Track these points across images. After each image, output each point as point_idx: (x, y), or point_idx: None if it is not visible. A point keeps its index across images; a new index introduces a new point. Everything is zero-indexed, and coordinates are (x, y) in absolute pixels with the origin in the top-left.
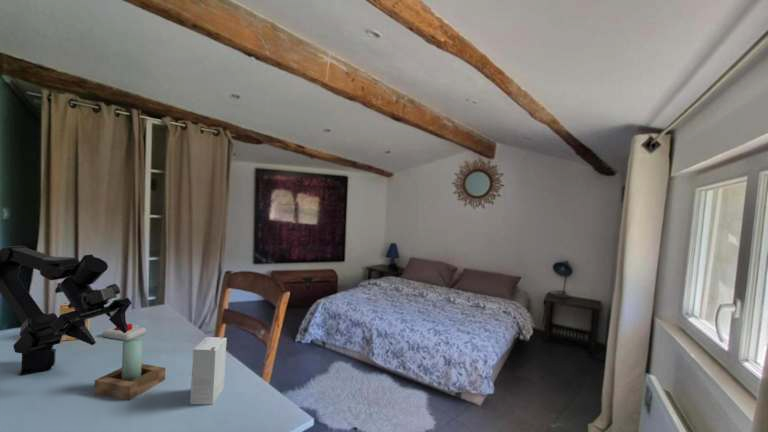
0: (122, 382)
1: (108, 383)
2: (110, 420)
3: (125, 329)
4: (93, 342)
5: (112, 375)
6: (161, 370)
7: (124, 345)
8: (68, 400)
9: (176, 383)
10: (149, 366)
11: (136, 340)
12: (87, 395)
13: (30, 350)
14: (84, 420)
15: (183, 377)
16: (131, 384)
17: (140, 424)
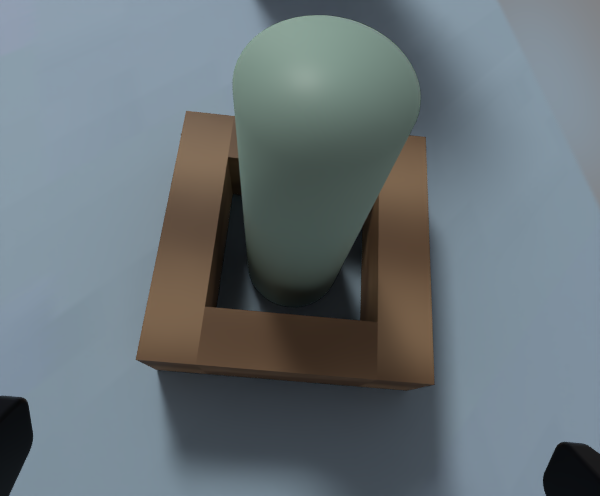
0: (402, 203)
1: (428, 275)
2: (535, 140)
3: (7, 414)
4: (592, 458)
5: (348, 330)
6: (215, 117)
7: (414, 116)
8: (504, 463)
9: (221, 87)
10: (185, 204)
11: (287, 74)
12: (433, 408)
13: None
14: (577, 228)
15: (158, 90)
16: (403, 147)
17: (510, 38)
